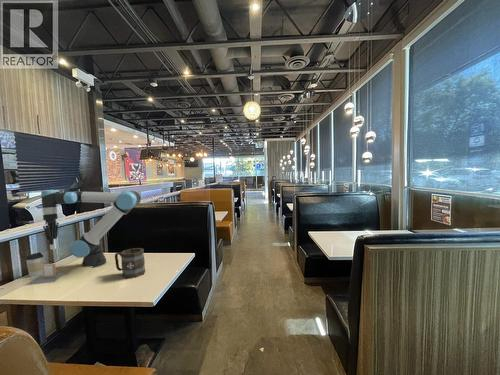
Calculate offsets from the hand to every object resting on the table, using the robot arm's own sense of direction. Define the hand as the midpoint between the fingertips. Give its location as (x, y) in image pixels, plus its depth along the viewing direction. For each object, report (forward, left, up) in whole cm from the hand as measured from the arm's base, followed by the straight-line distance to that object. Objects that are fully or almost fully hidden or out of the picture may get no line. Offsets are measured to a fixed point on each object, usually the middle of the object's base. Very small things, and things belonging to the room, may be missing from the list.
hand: (53, 249), depth 172 cm
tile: (-1, +8, -16) cm, 18 cm away
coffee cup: (+11, 0, -17) cm, 20 cm away
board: (-1, +11, -17) cm, 20 cm away
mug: (-51, +17, -17) cm, 56 cm away
